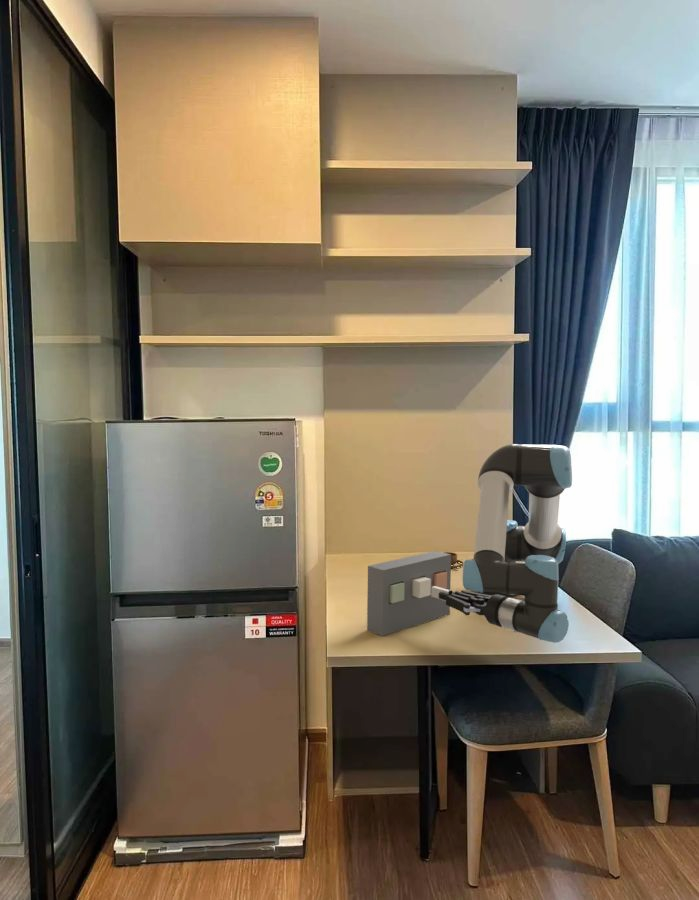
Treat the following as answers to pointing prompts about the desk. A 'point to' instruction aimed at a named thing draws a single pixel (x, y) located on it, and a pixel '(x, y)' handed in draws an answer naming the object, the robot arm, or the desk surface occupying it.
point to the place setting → (454, 559)
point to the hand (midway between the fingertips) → (433, 591)
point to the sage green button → (396, 592)
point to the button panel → (411, 609)
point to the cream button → (421, 587)
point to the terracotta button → (440, 579)
